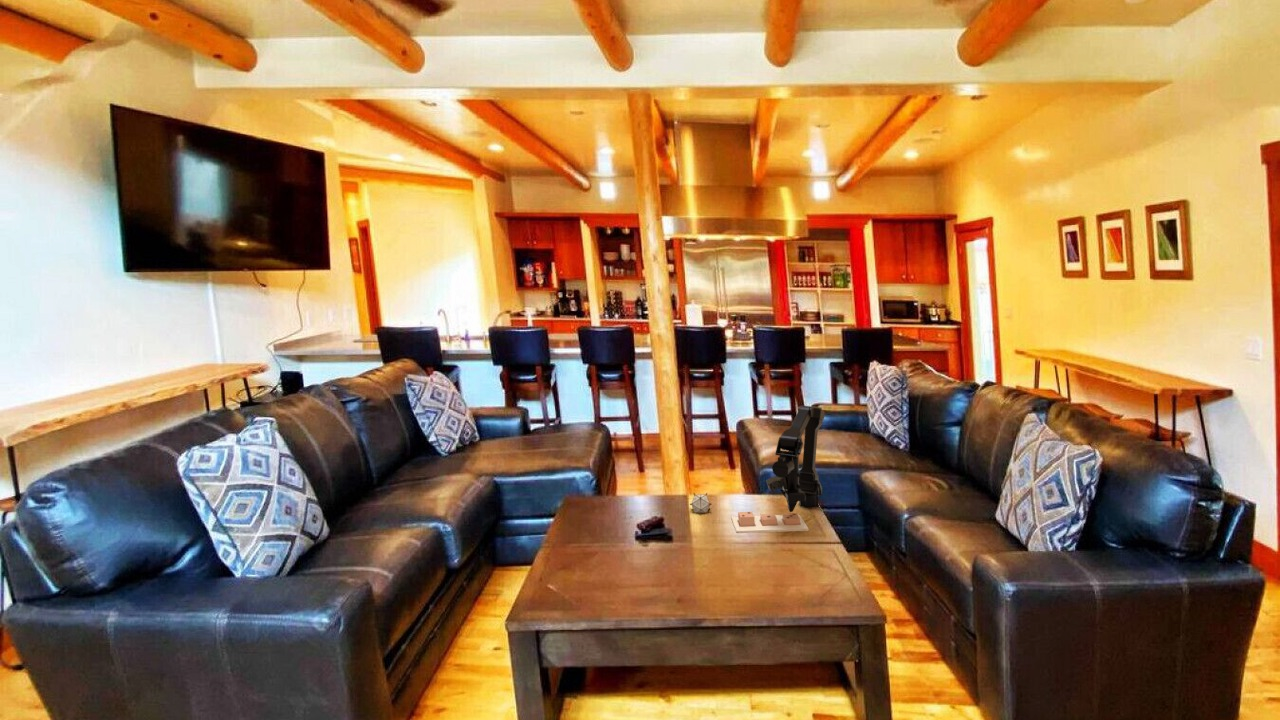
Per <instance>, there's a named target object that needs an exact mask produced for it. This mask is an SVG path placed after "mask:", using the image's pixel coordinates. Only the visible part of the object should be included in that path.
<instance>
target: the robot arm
mask: <svg viewBox="0 0 1280 720" xmlns="http://www.w3.org/2000/svg"><path fill="white" fill-rule="evenodd" d="M825 414H826V412H825V410H823V409H822V407H817V406H811V405H810V406H809V405H799V406H798V408H797V413H796V415H795V417H794V418H793V421H792V423H791V425H790V427H789V428H788V429H786V430H784V431H783V432H782V433H781V434H780V436H779V438H778V441H777V445H776V449H775V456H778V457H777V460H776V461H775V462H774V463H773V464H772V467H771V470H772V472H773V475H775V476H772V477H770V478H767V479H766V480H765V482H766V485H767V488H768V490H769V491H770V492H773V493H774V492H775V491H777V490H780V492H781V493H782V495H783V497H784V498H785V499H786V500H785V501H786V503H787V509H788V512H789V513H794V510H795V508H796V506H797V504H798V505H799V507H800V508H807V509H814V508H818V507H819V496H822V495H823V485H822V484H821V482H820V480H819V479H820V476H819V474H818V472H817V469H816V456H817V445H818V444H817V443H818V432H819V430H820V428H821V427H822V425H823V423H824V419H825V416H826V415H825ZM803 435H804V441H803V438H802V436H803ZM802 449H803V450H802ZM802 451H803V455H802V465H801V469H800V461H799V460H800V455H801V454H802Z"/></svg>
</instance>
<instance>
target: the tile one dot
mask: <svg viewBox="0 0 1280 720" xmlns="http://www.w3.org/2000/svg"><path fill="white" fill-rule="evenodd" d="M775 515H776V514H774V513H763V514H761V513H760V515H759V516H760V522H761V525H762V526H777V518H776V516H775Z"/></svg>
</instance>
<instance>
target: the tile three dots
mask: <svg viewBox="0 0 1280 720" xmlns="http://www.w3.org/2000/svg"><path fill="white" fill-rule="evenodd" d="M782 515H783V523H784V525H800V518H799V516H798V515H797V512H788V513H787V512H786V513H782Z"/></svg>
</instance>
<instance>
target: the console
mask: <svg viewBox="0 0 1280 720" xmlns="http://www.w3.org/2000/svg"><path fill="white" fill-rule="evenodd" d="M797 515H798V516H799V518H800V525H784V523H783V514H775V516H776V518H777V526H762V524H761V522H760V515H754V519H755V526H747V527H740V525H739V523H738V515H737V516H731V517H730V518H731V521H732V525H733V527H734V530H735V533H736V534H749V533H750V534H751V533H777V532H778V533H779V532H780V533H782V532H808V531H809V530H810V529H809V527H808V525H807V524H806V523H805V521H804V519H803V518H802V517H801V515H800V514H799V513H798V514H797Z"/></svg>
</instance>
